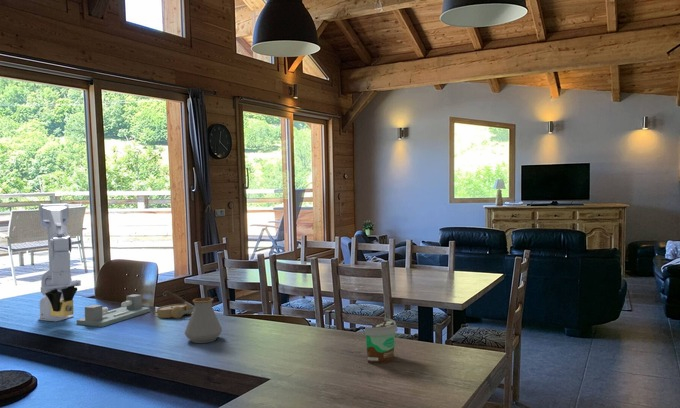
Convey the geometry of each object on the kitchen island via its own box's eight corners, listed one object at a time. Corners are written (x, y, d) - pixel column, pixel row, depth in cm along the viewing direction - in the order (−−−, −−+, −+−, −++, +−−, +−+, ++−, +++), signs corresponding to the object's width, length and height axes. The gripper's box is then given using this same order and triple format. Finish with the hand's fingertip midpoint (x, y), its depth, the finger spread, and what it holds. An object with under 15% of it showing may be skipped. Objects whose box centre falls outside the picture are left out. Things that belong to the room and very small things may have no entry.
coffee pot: (229, 336, 162) (228, 290, 162) (206, 346, 152) (206, 297, 151) (177, 330, 171) (176, 286, 170) (152, 339, 160) (151, 293, 160)
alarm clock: (170, 303, 200) (199, 300, 194) (172, 316, 200) (201, 312, 194) (149, 309, 190) (179, 306, 184) (151, 322, 190) (181, 319, 184)
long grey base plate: (76, 324, 180) (76, 306, 180) (126, 309, 203) (125, 293, 203) (102, 326, 176) (102, 308, 176) (149, 311, 199) (149, 295, 199)
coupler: (64, 317, 172) (64, 302, 172) (49, 315, 174) (49, 301, 174) (74, 314, 175) (74, 300, 175) (59, 312, 178) (59, 298, 178)
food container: (385, 368, 131) (385, 330, 131) (365, 364, 134) (364, 327, 134) (405, 355, 142) (404, 320, 141) (385, 351, 145) (385, 317, 145)
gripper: (51, 274, 166) (52, 315, 167) (86, 268, 180) (87, 306, 180) (35, 273, 169) (36, 313, 169) (72, 267, 182) (72, 304, 183)
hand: (61, 309), depth 175 cm, fingers closed on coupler, 4 cm apart
